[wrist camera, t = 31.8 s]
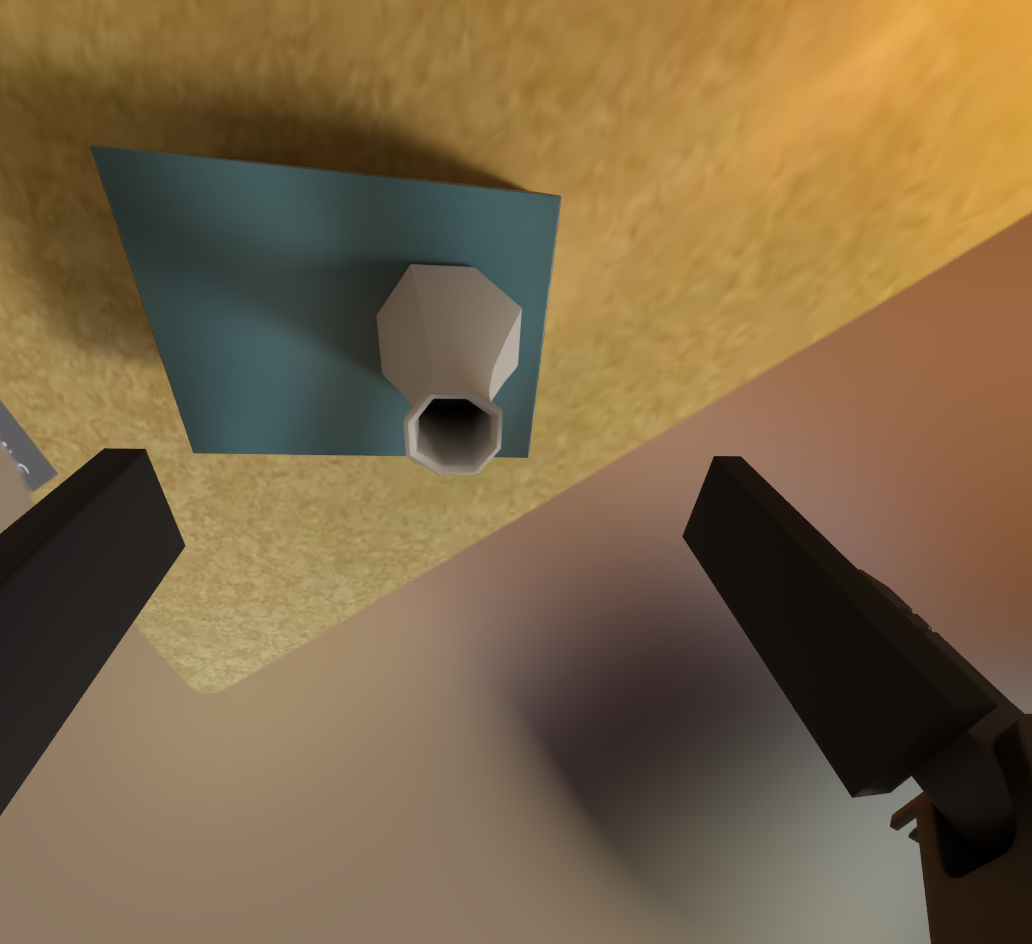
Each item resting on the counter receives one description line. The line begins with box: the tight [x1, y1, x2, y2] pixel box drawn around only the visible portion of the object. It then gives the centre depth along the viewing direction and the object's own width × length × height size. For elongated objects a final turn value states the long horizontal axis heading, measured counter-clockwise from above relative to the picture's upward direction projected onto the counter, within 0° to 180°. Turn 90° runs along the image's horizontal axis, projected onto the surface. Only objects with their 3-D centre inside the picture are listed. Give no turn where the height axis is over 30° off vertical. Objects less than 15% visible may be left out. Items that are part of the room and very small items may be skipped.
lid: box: [90, 145, 561, 458], centre depth 22 cm, size 18×13×1 cm
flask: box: [376, 264, 522, 476], centre depth 18 cm, size 7×7×10 cm
